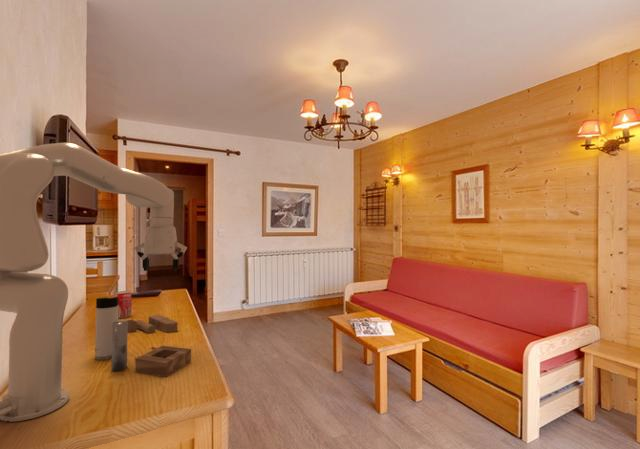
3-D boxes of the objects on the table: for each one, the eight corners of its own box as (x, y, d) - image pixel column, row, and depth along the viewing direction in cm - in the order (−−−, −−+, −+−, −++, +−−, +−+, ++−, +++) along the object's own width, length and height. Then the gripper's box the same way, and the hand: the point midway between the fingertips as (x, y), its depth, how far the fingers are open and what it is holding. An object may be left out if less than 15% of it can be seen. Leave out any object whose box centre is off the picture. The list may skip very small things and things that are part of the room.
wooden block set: (158, 311, 144) (178, 318, 133) (157, 324, 144) (178, 332, 133) (116, 319, 130) (135, 328, 119) (115, 333, 130) (134, 343, 119)
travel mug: (91, 361, 102) (92, 298, 102) (99, 353, 108) (100, 294, 108) (113, 359, 103) (114, 298, 104) (120, 351, 110) (121, 293, 110)
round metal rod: (118, 372, 94) (119, 325, 95) (108, 370, 95) (108, 323, 96) (129, 366, 98) (130, 321, 98) (119, 365, 99) (120, 320, 100)
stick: (171, 353, 109) (171, 351, 109) (169, 354, 108) (169, 352, 108) (153, 348, 114) (153, 346, 114) (151, 348, 113) (151, 346, 113)
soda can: (115, 316, 154) (115, 291, 155) (132, 314, 157) (132, 290, 157) (112, 319, 148) (113, 293, 148) (130, 318, 151) (130, 292, 151)
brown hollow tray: (166, 376, 92) (166, 362, 92) (135, 372, 95) (135, 358, 95) (190, 361, 102) (191, 349, 102) (162, 357, 105) (162, 345, 105)
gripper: (131, 222, 109) (130, 271, 109) (184, 222, 112) (183, 271, 112) (140, 222, 117) (139, 269, 116) (189, 223, 119) (188, 268, 119)
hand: (160, 270), depth 114 cm, fingers open, 9 cm apart
